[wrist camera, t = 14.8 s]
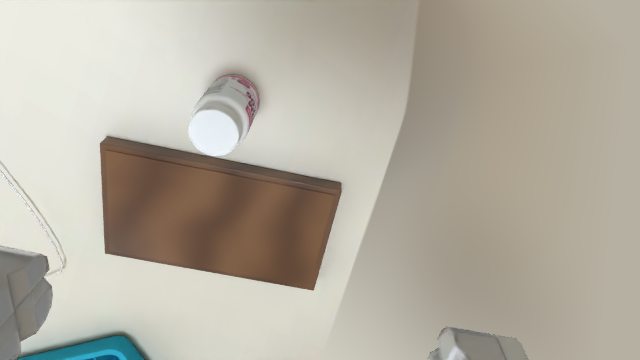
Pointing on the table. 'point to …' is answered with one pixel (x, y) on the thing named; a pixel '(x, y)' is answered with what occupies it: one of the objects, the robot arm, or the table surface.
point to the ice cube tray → (93, 351)
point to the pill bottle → (223, 115)
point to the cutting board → (214, 214)
